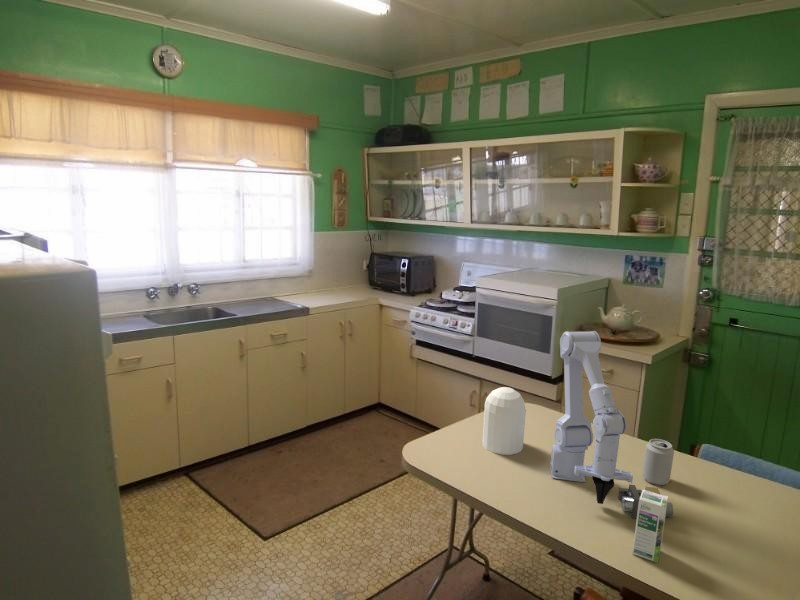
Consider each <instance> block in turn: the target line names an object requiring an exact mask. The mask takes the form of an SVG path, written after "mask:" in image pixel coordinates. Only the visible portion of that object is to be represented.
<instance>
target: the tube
mask: <svg viewBox="0 0 800 600" xmlns="http://www.w3.org/2000/svg"><path fill="white" fill-rule="evenodd" d="M633 501H634V500H633V498H632V497H624V496H623V497H622V501H621V510H622V511H624V512H631V513H632V509H633ZM673 515H674V506H673V503H672V502H670V501H668V502H667V509H666V515H665V517H670V518H672V517H673Z"/></svg>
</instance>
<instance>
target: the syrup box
mask: <svg viewBox="0 0 800 600" xmlns="http://www.w3.org/2000/svg"><path fill="white" fill-rule="evenodd" d="M668 499H669V496H668V495H662V494H661V493H660V494H656V493H653V492H650V491H646V490H645V489H642V493H641V496H640V499H639V505H638V512H637V519H636V523H635V529H634V530H635V532H634V537H633V538H634V539H633V545H632V550H631V554H632V555H633V556H637V557H640V558H644V559H646V560H649V561H651V562H654V563H659V562H658V561H659V559H660V553H661V549H662V542H663V535H664V527H665V522H666V516H665V515H666V509H667V502H669V500H668Z"/></svg>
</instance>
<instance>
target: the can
mask: <svg viewBox="0 0 800 600" xmlns="http://www.w3.org/2000/svg"><path fill="white" fill-rule="evenodd" d="M674 455H675V449H674V448H673V444H671V443H670V442H669V441H667V440H664V439H660V438H652V439H649V441H648V443H646V445H645V451H644V457H643V458H644V459H643V466H642V473H641V475H642V477H643V479H644V480H645V481H646V482H647V483H650V484H653V485H655V486H656V485H657V486H664V485H667V484H669V482H670V480H671V475H672V474H671V473H672V468H673V461H674Z"/></svg>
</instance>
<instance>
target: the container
mask: <svg viewBox="0 0 800 600" xmlns="http://www.w3.org/2000/svg"><path fill="white" fill-rule="evenodd" d="M526 412H527V409H526V403H525V400H524V399H523V397H522V395H521V393H520V392H519V391H517V390H515V389H514V388H511V387H507V386H503V387H502V386H501V387H498V388H496V389H494V390H492V391H491V392H490V393H489V394H488V395H487V397H486V398H485V402H484V412H483V413H484V414H483V427H482V428H483V429H482V430H483V431H482V446H483V448H484V449H486V450H487V451H489V452H492V453H493V454H497V455H502V456H503V455H505V456H510V455H516V454H519V453H521V452H522V451H523V448H524V439H525V438H524V437H525V425H526V415H527V413H526Z"/></svg>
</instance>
